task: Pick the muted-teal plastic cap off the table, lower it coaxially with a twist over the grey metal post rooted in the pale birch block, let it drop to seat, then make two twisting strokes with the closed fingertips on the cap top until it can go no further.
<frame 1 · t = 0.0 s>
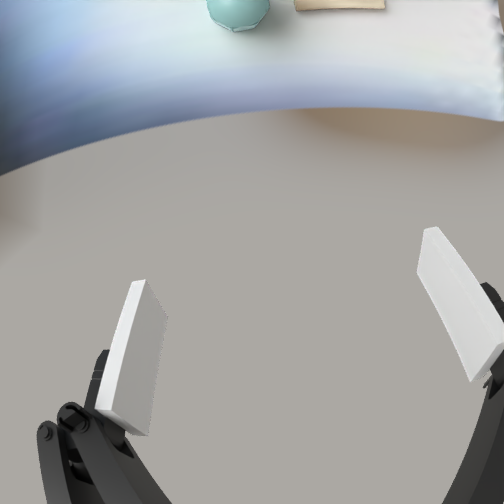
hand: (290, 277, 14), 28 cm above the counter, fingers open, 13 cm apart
cap: (238, 8, 26), on the counter
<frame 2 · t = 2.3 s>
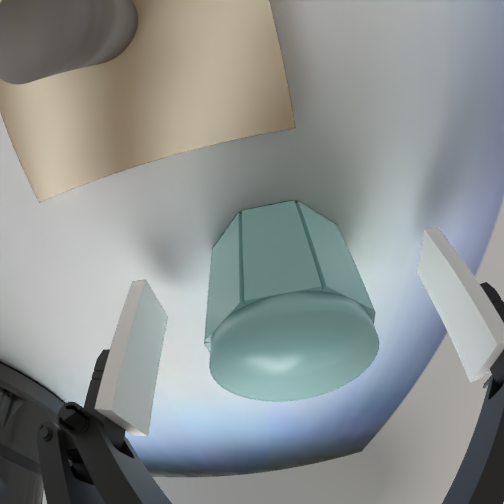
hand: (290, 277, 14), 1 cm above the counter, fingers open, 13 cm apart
post block: (112, 28, 8), on the counter
cap: (278, 258, 15), on the counter
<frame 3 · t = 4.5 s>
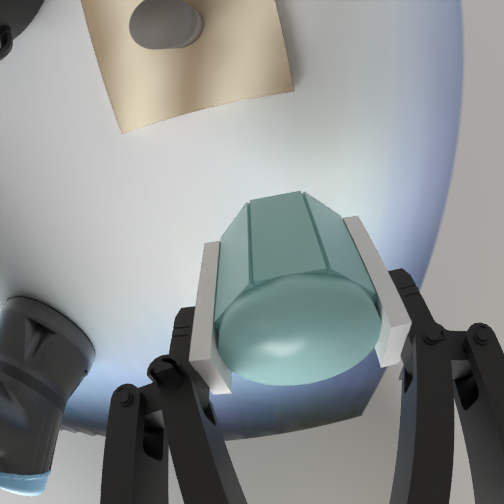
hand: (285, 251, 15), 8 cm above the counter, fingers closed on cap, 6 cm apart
post block: (183, 27, 14), on the counter
cap: (284, 247, 15), point 7 cm above the counter, touching gripper
mug: (15, 2, 10), on the counter
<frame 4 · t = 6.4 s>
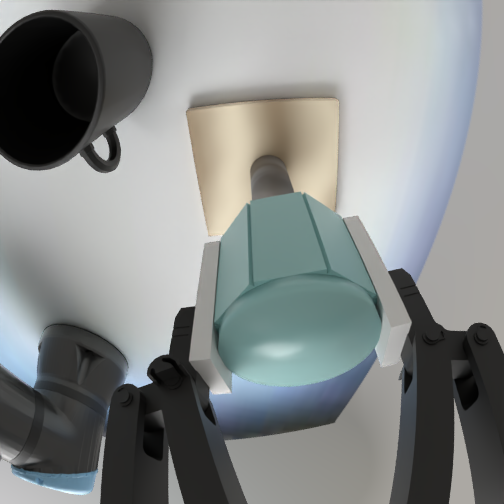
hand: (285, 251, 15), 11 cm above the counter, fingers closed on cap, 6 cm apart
post block: (267, 166, 24), on the counter
cap: (285, 248, 15), point 11 cm above the counter, touching gripper
mug: (104, 84, 19), on the counter
when the fingers open (2 cm above the counter, at t = 8.7 s): cap stays where it is, resting on post block.
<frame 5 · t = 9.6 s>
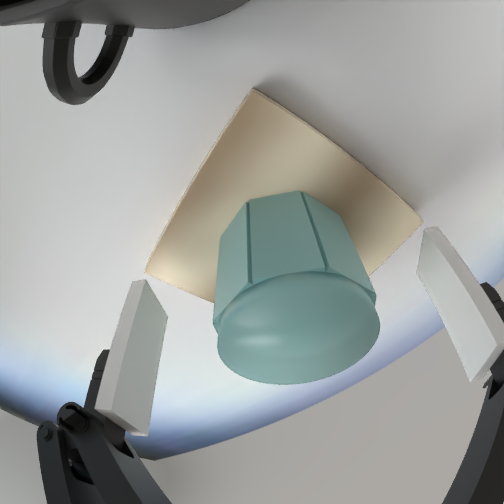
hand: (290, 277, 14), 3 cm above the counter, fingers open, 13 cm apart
post block: (282, 233, 16), on the counter
cap: (284, 247, 15), point 1 cm above the counter, touching post block
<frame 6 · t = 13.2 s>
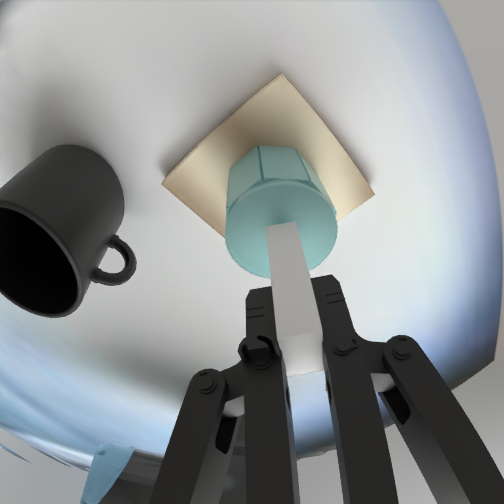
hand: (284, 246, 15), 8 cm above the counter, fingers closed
post block: (271, 179, 22), on the counter
cap: (272, 186, 21), point 1 cm above the counter, touching post block
mug: (88, 201, 22), on the counter
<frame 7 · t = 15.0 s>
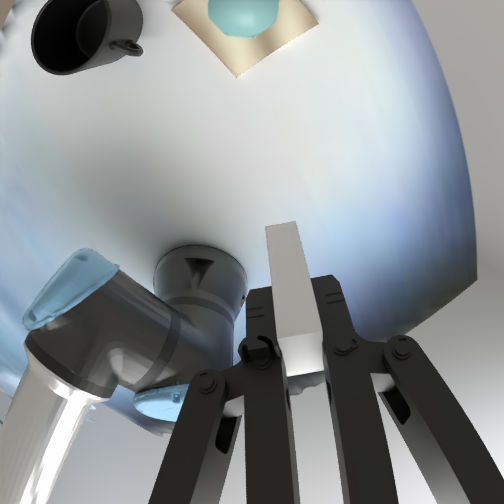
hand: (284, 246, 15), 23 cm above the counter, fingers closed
post block: (245, 13, 25), on the counter
cap: (244, 12, 24), point 1 cm above the counter, touching post block
mug: (115, 31, 25), on the counter
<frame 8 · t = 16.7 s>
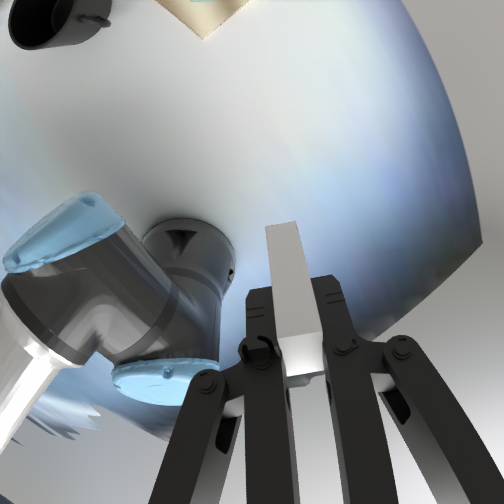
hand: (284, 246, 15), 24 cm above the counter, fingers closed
mug: (87, 13, 24), on the counter
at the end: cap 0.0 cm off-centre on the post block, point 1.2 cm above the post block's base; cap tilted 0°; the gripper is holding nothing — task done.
